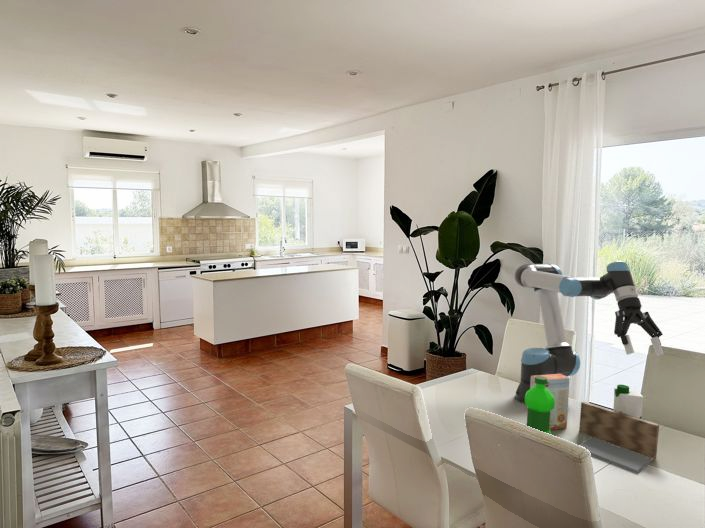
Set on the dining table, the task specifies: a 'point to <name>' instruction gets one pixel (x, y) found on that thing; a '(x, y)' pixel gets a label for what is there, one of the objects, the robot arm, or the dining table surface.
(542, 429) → the plastic bottle
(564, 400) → the cracker box
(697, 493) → the dining table surface
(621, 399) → the soya milk
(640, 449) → the walnut screen
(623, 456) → the slate mat
